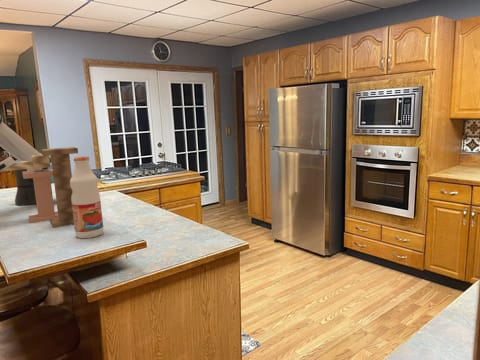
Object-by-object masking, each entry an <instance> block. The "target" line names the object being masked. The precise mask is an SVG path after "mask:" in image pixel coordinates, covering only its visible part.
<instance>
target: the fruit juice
mask: <svg viewBox="0 0 480 360" xmlns="http://www.w3.org/2000/svg"><path fill="white" fill-rule="evenodd" d="M73 161H74V164H75V165H74V170H73V173H72V177H71V179H70V186H71V189H72V196H71V201H72V209H73V218H74V224H73V225H74V233H75V237H77V238H79V239H89V238H90V239H91V238H95V237H99V236H101V235H102V234H103V233H104V222H103V211H102V203H101V195H100V192H99V190H98V187H99V180H98V177H97V176H96V175H95V173H94V172H93V170H92V168H91V166H90V156H87V155H85V156H76V157H73Z"/></svg>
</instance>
